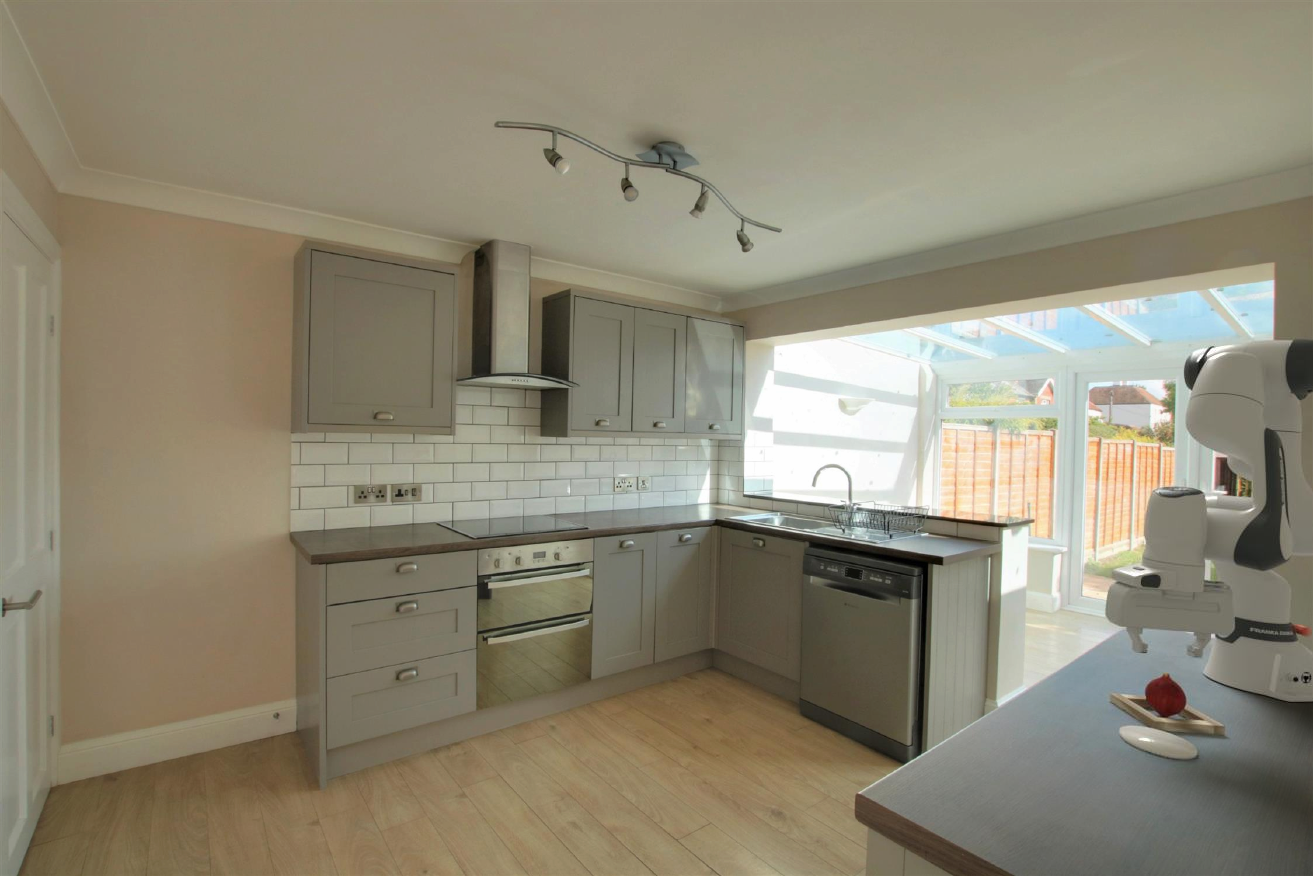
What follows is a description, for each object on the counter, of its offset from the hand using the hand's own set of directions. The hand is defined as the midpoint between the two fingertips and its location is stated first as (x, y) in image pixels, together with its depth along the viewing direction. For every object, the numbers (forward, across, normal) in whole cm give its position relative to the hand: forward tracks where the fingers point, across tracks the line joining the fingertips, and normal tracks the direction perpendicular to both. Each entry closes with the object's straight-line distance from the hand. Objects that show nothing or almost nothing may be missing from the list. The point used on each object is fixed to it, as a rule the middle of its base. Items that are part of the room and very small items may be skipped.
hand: (1166, 654), depth 114 cm
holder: (+11, -1, 0) cm, 11 cm away
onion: (+12, -1, 0) cm, 12 cm away
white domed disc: (+12, +8, +10) cm, 18 cm away
